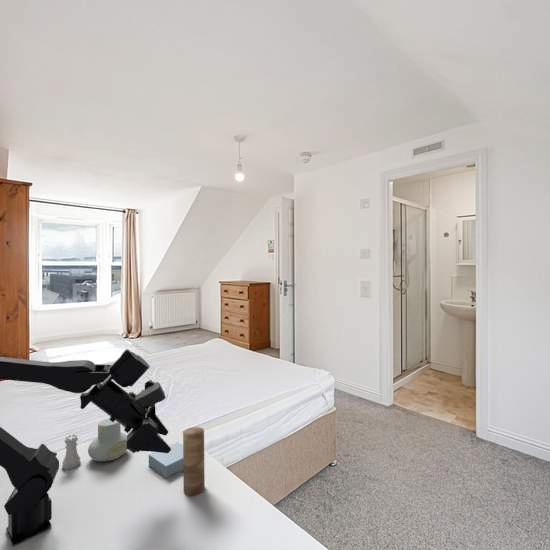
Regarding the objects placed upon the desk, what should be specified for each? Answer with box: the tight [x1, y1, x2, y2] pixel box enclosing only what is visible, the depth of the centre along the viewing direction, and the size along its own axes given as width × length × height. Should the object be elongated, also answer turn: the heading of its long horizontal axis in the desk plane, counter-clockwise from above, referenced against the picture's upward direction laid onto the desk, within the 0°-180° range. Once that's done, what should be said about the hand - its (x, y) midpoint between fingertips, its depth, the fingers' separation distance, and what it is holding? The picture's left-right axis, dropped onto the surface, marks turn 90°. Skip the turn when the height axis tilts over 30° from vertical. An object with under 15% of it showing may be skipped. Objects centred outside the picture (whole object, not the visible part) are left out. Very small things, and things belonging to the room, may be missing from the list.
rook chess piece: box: [61, 434, 82, 471], centre depth 92 cm, size 4×4×8 cm
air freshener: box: [87, 418, 128, 462], centre depth 97 cm, size 11×8×10 cm
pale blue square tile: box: [148, 442, 183, 479], centre depth 92 cm, size 9×9×3 cm
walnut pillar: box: [182, 426, 206, 497], centre depth 81 cm, size 5×5×14 cm
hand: (168, 441), depth 79 cm, fingers open, 9 cm apart
